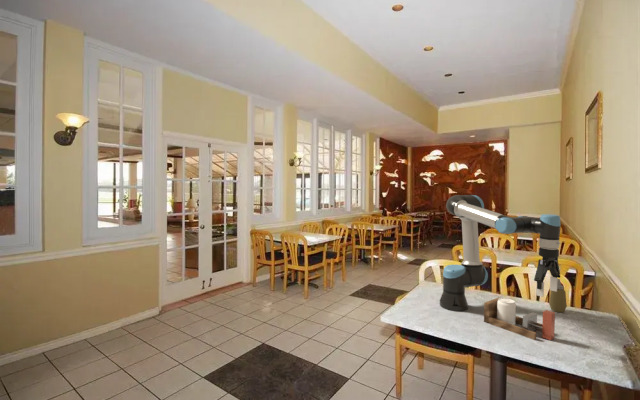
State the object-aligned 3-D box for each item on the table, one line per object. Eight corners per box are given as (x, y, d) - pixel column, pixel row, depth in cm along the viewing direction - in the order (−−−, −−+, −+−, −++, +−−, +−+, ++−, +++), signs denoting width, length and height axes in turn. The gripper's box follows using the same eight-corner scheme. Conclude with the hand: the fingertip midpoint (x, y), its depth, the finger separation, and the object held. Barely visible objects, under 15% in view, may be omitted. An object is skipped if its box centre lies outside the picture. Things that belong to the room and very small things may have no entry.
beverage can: (517, 327, 157) (518, 303, 157) (500, 326, 159) (500, 302, 158) (511, 321, 165) (512, 298, 165) (494, 319, 167) (495, 297, 166)
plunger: (522, 332, 151) (523, 308, 151) (532, 328, 156) (532, 303, 156) (547, 342, 142) (548, 315, 142) (557, 336, 147) (557, 310, 147)
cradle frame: (483, 321, 164) (484, 302, 164) (498, 315, 172) (498, 297, 172) (534, 339, 145) (535, 318, 144) (548, 332, 152) (548, 311, 152)
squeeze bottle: (551, 312, 177) (552, 280, 176) (546, 307, 184) (547, 276, 184) (568, 314, 174) (569, 281, 173) (563, 309, 181) (564, 278, 181)
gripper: (545, 252, 137) (543, 300, 138) (570, 246, 151) (567, 290, 152) (526, 249, 144) (524, 295, 145) (551, 244, 157) (549, 286, 158)
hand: (546, 293), depth 148 cm, fingers open, 13 cm apart
